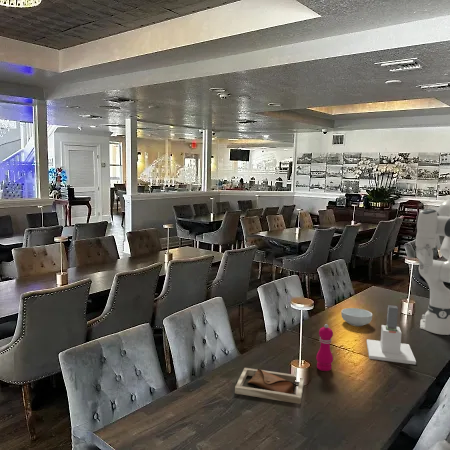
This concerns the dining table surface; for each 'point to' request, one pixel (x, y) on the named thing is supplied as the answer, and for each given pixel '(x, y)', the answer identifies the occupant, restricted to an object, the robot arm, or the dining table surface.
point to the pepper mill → (325, 349)
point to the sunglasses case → (272, 382)
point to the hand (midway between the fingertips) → (423, 271)
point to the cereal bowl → (356, 316)
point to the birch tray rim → (266, 393)
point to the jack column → (392, 318)
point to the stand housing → (390, 347)
